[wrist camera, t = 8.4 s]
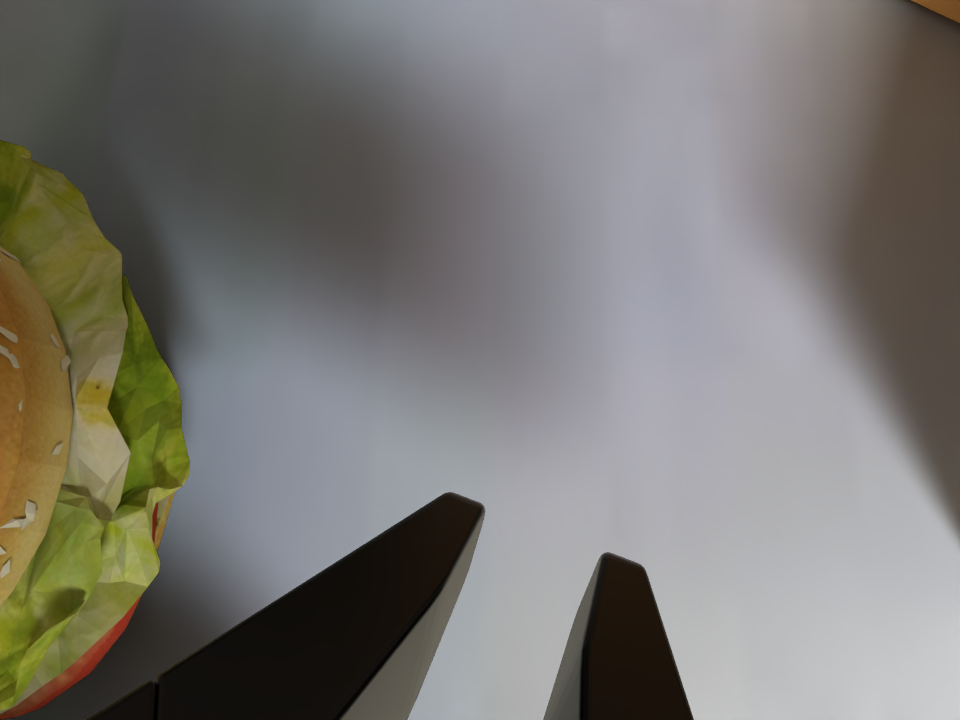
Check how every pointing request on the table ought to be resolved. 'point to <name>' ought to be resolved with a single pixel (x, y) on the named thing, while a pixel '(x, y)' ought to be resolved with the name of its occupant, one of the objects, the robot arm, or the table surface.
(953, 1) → the side door
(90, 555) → the food
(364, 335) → the table surface
